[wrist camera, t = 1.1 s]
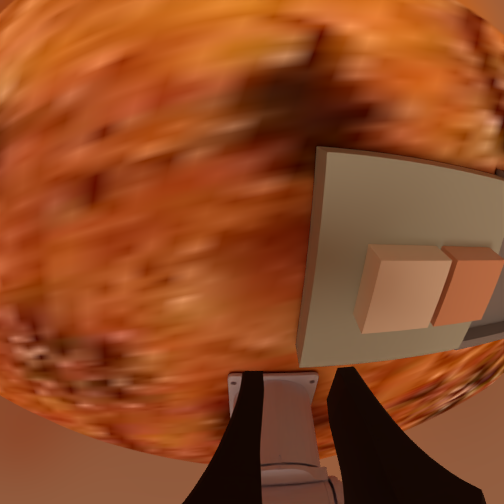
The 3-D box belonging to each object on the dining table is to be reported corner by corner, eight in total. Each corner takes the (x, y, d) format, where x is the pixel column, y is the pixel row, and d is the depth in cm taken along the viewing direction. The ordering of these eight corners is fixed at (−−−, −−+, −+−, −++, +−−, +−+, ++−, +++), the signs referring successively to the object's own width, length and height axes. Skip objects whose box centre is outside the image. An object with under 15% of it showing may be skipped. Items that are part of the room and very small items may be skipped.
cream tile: (415, 309, 19) (427, 327, 17) (352, 313, 18) (361, 333, 17) (436, 245, 16) (452, 260, 15) (368, 244, 16) (381, 260, 14)
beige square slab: (446, 331, 23) (458, 348, 21) (295, 344, 23) (299, 367, 21) (495, 175, 16) (516, 184, 14) (316, 146, 16) (327, 152, 14)
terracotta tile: (468, 304, 19) (481, 319, 17) (421, 309, 19) (433, 326, 17) (489, 247, 16) (505, 260, 15) (441, 245, 16) (458, 260, 15)
